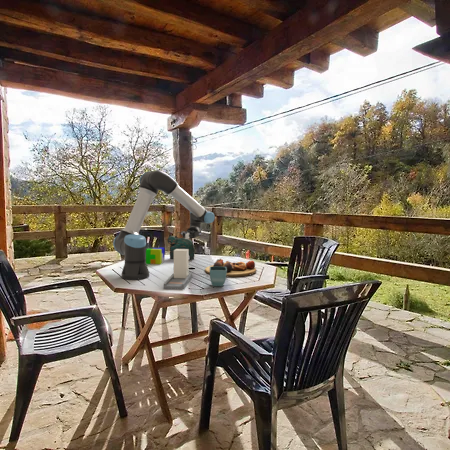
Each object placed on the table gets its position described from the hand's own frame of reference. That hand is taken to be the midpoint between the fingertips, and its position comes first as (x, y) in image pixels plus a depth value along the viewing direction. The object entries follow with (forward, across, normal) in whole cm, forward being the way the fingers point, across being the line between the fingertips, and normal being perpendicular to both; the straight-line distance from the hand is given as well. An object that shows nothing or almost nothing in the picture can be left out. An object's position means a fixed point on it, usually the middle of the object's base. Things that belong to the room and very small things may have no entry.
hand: (186, 236), depth 186 cm
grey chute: (+20, 0, -22) cm, 30 cm away
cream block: (+14, 0, -21) cm, 25 cm away
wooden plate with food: (-11, -26, -23) cm, 36 cm away
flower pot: (+22, -20, -23) cm, 38 cm away
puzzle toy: (-30, +27, -23) cm, 47 cm away
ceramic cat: (-46, +12, -23) cm, 53 cm away
